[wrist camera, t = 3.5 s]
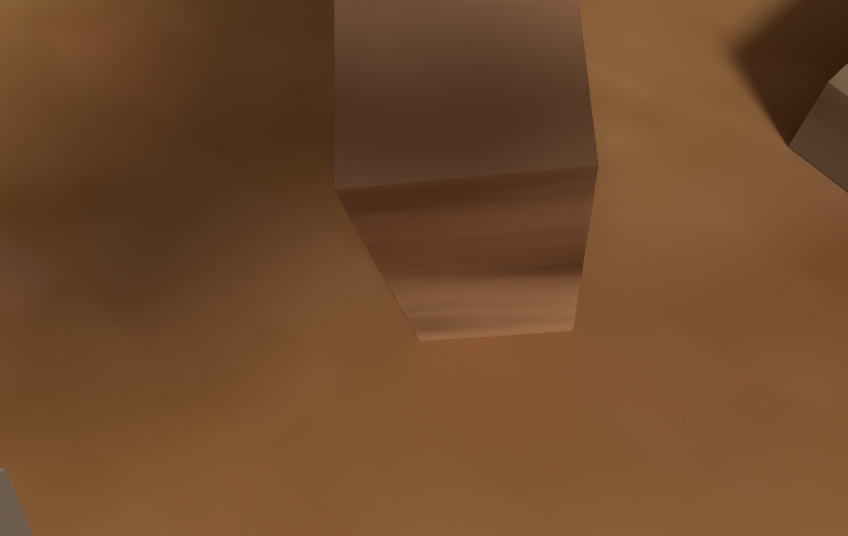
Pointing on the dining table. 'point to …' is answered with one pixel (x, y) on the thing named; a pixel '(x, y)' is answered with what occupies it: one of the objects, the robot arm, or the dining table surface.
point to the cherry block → (467, 158)
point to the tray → (827, 131)
